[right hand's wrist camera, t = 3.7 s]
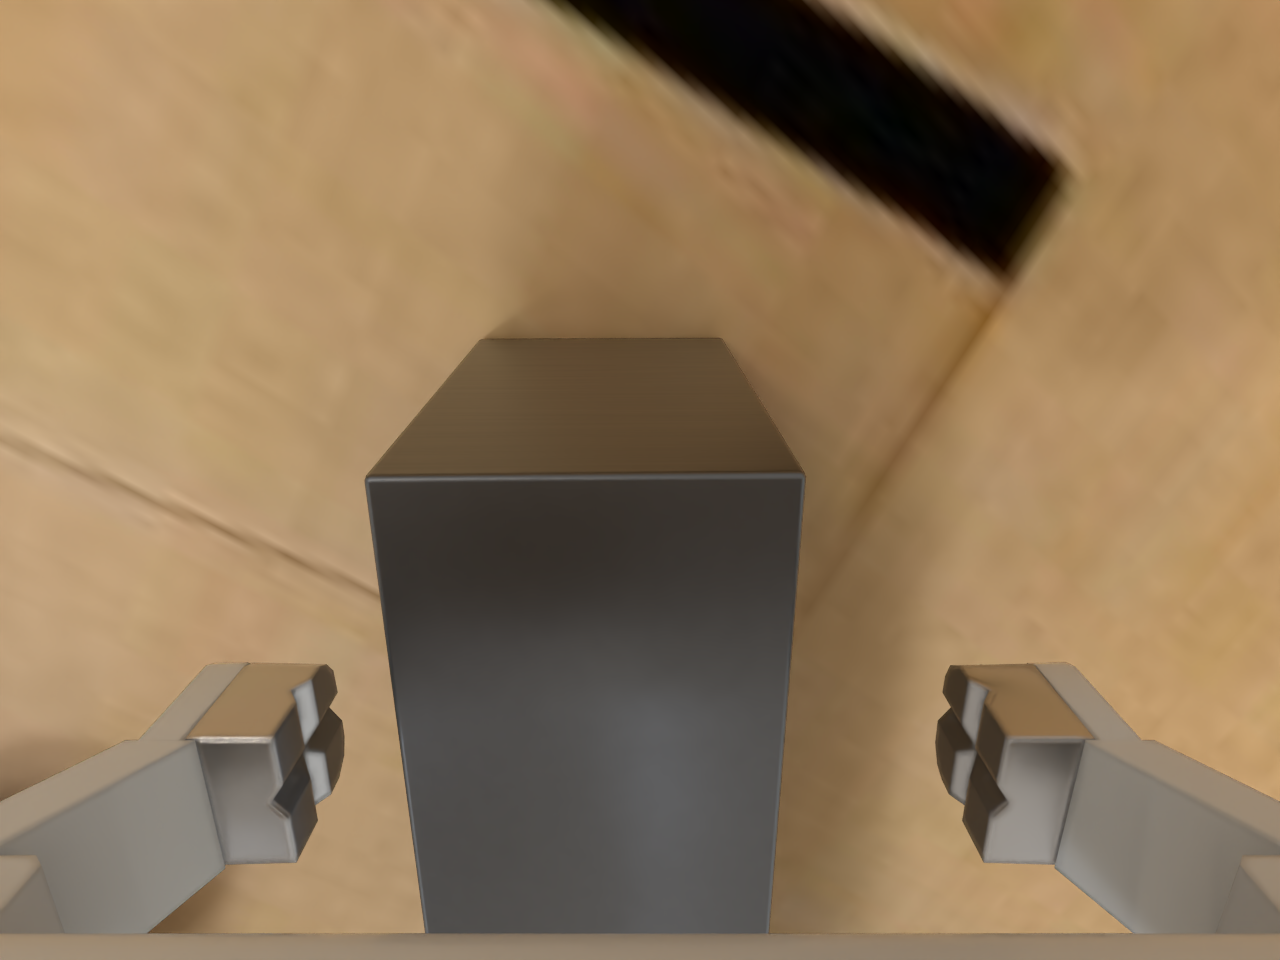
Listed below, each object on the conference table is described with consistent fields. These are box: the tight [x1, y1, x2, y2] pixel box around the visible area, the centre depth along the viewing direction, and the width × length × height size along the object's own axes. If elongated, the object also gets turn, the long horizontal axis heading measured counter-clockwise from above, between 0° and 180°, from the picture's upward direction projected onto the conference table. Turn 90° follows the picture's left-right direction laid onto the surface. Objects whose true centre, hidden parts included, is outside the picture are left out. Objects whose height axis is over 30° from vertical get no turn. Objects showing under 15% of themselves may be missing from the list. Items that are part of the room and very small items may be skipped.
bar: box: [365, 338, 806, 934], centre depth 17 cm, size 24×5×8 cm, turn 0°
